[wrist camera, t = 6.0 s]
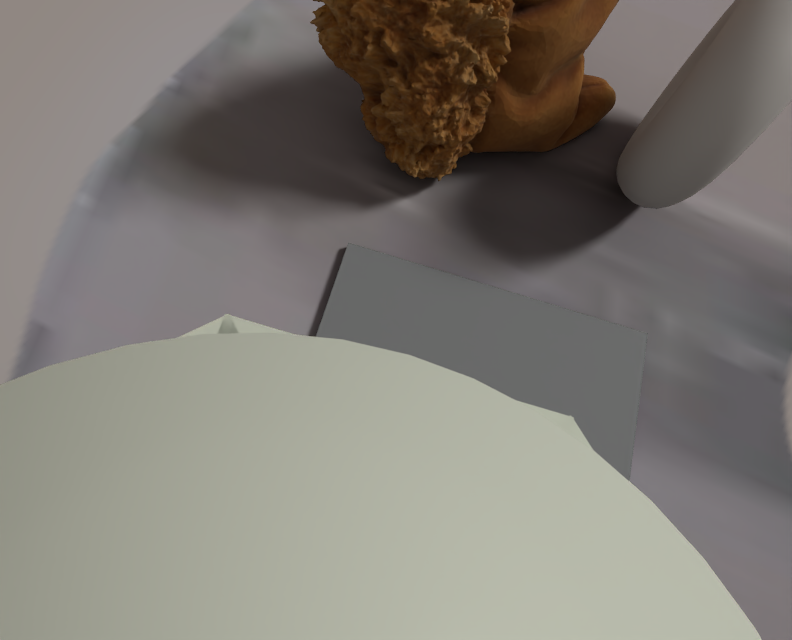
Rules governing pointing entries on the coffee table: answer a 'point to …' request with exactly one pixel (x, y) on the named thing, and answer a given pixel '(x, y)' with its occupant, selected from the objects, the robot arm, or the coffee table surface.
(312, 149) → the coffee table surface
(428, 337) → the slate mat
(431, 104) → the stuffed squirrel
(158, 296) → the coffee table surface
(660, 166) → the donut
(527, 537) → the pale green faceted cylinder
